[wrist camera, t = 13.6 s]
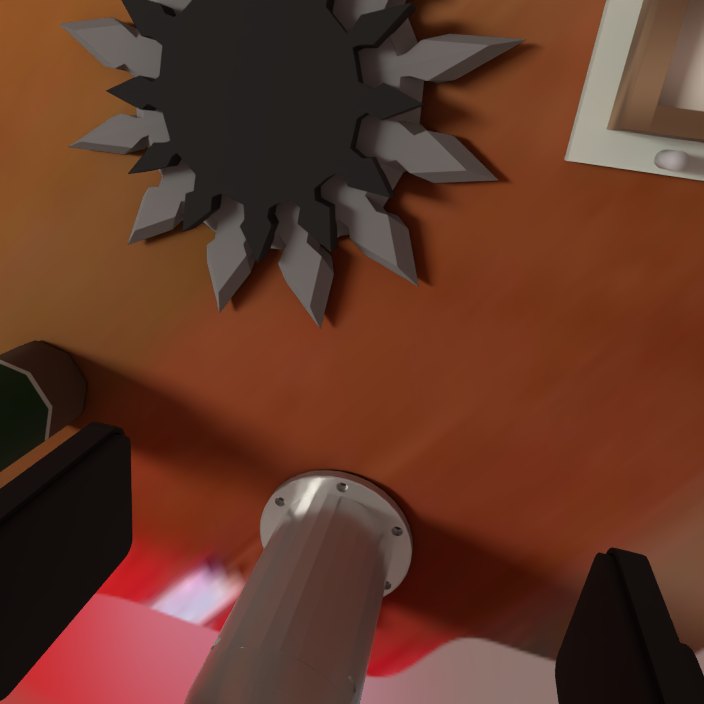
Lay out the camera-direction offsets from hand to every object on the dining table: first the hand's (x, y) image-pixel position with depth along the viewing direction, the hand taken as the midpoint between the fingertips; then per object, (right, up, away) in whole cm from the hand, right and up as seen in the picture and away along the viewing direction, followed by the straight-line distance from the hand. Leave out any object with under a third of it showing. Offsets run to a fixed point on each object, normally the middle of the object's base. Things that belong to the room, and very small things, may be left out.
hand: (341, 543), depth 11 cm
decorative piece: (-4, +20, +25) cm, 32 cm away
